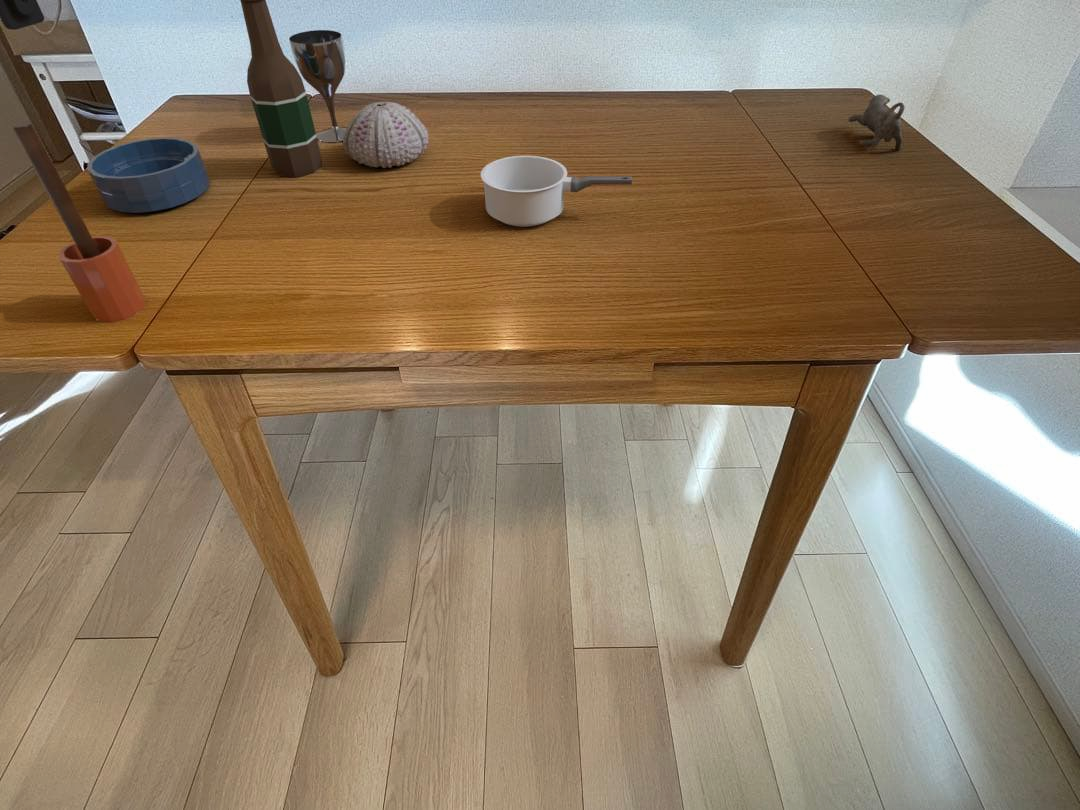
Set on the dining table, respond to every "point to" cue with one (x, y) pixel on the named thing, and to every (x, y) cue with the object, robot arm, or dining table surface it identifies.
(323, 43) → the wine glass
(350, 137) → the sea urchin shell
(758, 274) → the dining table surface
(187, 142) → the bowl
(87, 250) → the spatula
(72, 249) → the utensil pot
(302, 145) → the beer bottle
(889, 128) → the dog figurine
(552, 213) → the saucepan
